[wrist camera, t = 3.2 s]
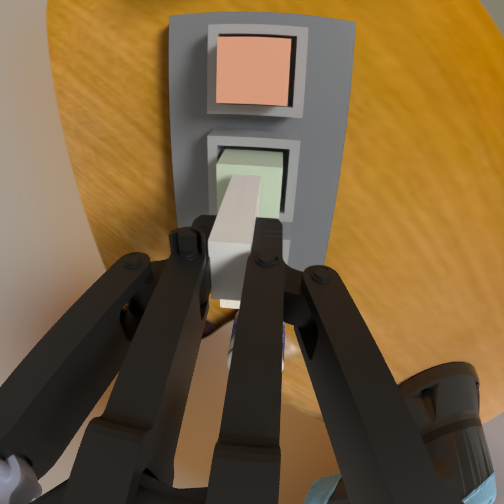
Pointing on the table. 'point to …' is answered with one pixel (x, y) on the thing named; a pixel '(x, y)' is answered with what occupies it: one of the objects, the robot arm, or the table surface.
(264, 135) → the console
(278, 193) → the sage button
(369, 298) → the table surface
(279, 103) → the terracotta button
